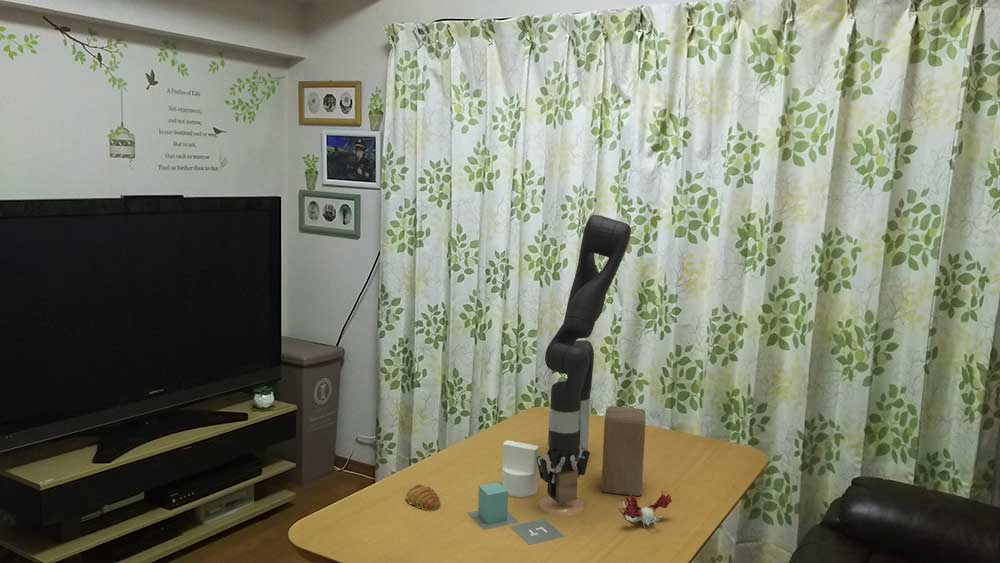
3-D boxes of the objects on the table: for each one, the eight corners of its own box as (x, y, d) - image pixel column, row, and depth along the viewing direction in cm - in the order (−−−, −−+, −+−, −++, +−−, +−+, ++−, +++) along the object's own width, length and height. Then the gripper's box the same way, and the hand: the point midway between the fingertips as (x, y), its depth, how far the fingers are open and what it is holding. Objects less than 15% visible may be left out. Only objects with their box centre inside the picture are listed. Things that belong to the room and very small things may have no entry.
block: (641, 497, 179) (645, 420, 176) (601, 493, 180) (604, 416, 178) (641, 481, 188) (645, 408, 185) (603, 477, 190) (606, 404, 187)
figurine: (649, 504, 175) (650, 478, 174) (683, 525, 165) (684, 497, 164) (599, 517, 168) (601, 490, 167) (632, 539, 158) (633, 511, 157)
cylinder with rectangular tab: (542, 487, 183) (544, 442, 182) (529, 501, 175) (530, 454, 173) (510, 480, 187) (511, 436, 185) (495, 493, 179) (497, 447, 177)
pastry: (447, 508, 171) (447, 493, 170) (423, 516, 166) (423, 501, 166) (426, 494, 178) (426, 480, 177) (402, 502, 174) (402, 487, 173)
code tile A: (509, 528, 161) (509, 526, 161) (544, 520, 165) (544, 518, 165) (528, 546, 153) (528, 544, 153) (564, 538, 157) (564, 536, 157)
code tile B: (466, 514, 167) (466, 512, 167) (501, 507, 172) (501, 505, 171) (483, 531, 160) (483, 529, 159) (519, 523, 164) (519, 521, 164)
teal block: (478, 514, 167) (478, 486, 166) (497, 510, 169) (498, 482, 168) (487, 524, 162) (488, 494, 161) (507, 519, 164) (508, 490, 163)
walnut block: (547, 495, 173) (548, 467, 172) (565, 491, 176) (566, 464, 175) (558, 503, 169) (559, 475, 168) (576, 499, 171) (577, 472, 170)
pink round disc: (530, 501, 175) (530, 498, 175) (568, 493, 180) (568, 491, 180) (553, 520, 165) (553, 518, 165) (593, 511, 170) (593, 509, 170)
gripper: (581, 417, 176) (578, 483, 179) (530, 425, 170) (528, 493, 172) (598, 427, 170) (595, 495, 172) (546, 435, 163) (544, 506, 166)
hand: (562, 494), depth 172 cm, fingers closed on walnut block, 5 cm apart
